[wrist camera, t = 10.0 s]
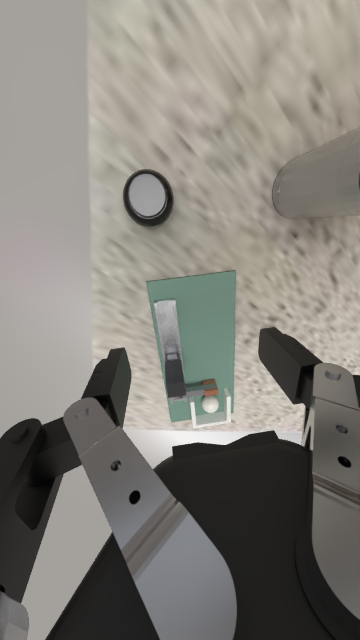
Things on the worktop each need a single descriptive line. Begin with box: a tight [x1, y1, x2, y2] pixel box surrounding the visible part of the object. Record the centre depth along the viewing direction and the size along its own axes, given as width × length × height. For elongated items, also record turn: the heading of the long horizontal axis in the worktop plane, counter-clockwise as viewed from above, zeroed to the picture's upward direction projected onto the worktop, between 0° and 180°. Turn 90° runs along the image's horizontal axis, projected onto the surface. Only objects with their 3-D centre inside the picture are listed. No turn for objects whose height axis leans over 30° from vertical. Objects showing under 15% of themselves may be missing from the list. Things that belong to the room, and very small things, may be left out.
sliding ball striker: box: [165, 354, 218, 400], centre depth 45 cm, size 12×12×10 cm
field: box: [147, 271, 236, 422], centre depth 49 cm, size 18×41×1 cm, turn 6°
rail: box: [154, 298, 187, 404], centre depth 47 cm, size 4×28×2 cm, turn 6°
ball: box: [202, 395, 219, 413], centre depth 53 cm, size 4×4×4 cm
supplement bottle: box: [123, 169, 174, 228], centre depth 29 cm, size 7×7×12 cm
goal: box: [189, 388, 231, 428], centre depth 54 cm, size 10×10×3 cm
